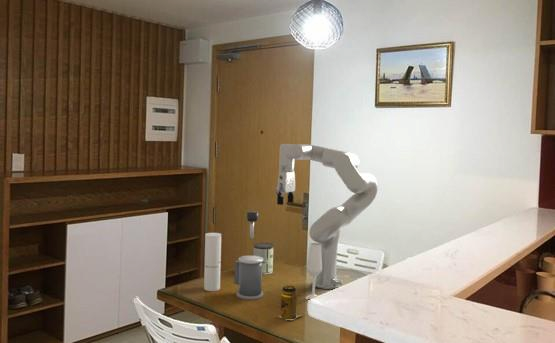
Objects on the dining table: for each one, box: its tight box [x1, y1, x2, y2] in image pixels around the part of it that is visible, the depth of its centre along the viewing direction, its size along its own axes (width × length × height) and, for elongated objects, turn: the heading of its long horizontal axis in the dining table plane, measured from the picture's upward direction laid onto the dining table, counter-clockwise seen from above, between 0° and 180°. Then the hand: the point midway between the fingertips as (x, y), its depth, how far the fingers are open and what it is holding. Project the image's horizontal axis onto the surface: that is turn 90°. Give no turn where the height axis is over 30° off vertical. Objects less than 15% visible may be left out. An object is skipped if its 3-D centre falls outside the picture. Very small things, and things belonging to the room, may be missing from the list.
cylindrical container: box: [203, 232, 222, 292], centre depth 223 cm, size 7×7×25 cm
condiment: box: [280, 285, 298, 320], centre depth 192 cm, size 7×8×12 cm
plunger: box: [246, 210, 259, 239], centre depth 214 cm, size 5×5×11 cm
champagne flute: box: [305, 242, 322, 300], centre depth 215 cm, size 7×7×24 cm
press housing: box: [233, 255, 264, 301], centre depth 216 cm, size 14×12×16 cm
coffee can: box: [253, 242, 274, 275], centre depth 253 cm, size 10×10×14 cm
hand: (285, 203), depth 244 cm, fingers open, 9 cm apart
